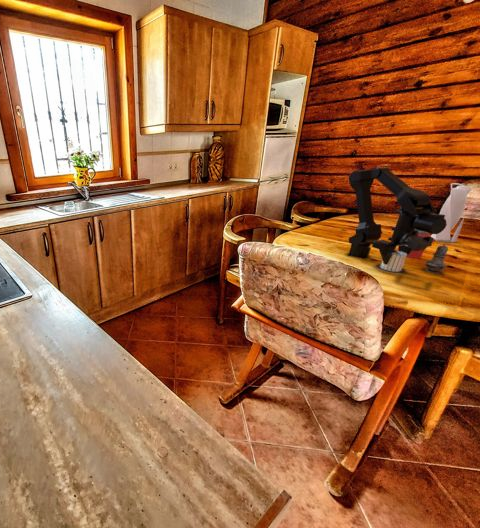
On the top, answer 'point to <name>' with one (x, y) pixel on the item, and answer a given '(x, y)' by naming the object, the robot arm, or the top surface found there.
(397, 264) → the grey ribbed cylinder
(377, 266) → the towel stand
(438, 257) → the dark grey tapered piece
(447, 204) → the skyscraper
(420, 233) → the beer can
